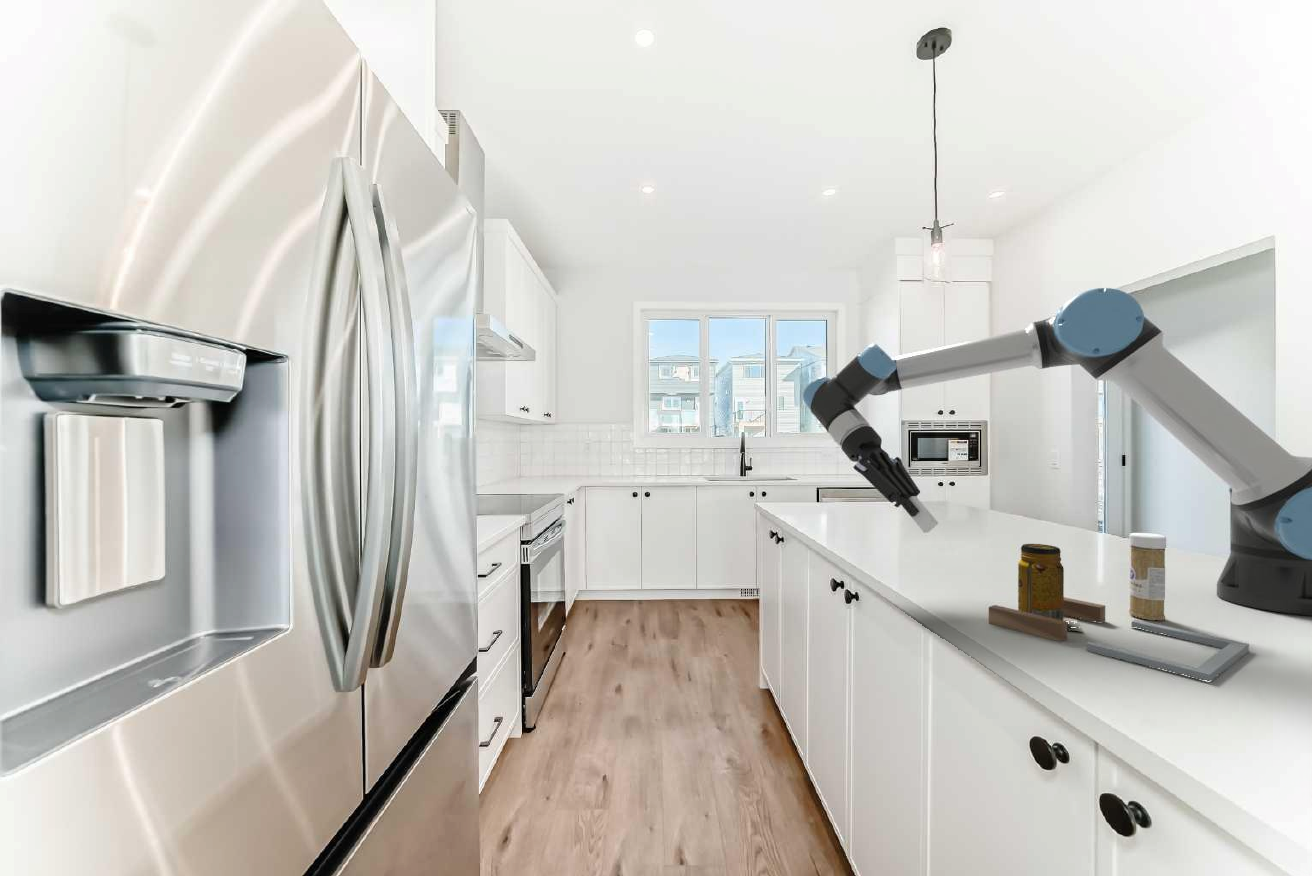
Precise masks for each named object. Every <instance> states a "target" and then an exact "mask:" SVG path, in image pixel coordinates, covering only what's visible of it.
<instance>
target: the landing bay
mask: <svg viewBox="0 0 1312 876" xmlns="http://www.w3.org/2000/svg"><path fill="white" fill-rule="evenodd" d="M1131 627H1137V628H1141V629H1144V630H1148V631H1152V632H1156V633H1163V634H1166V635H1170V636H1173V637H1172V638H1174V637H1176V638H1175V639H1178V638H1179V639H1180V640H1183V639H1187V640H1191V641H1190V642H1192V641H1195V642H1194V643H1196V642H1199V643H1198V644H1201V643H1202V644H1201V645H1206V646H1210V645H1212V646H1211V647H1215V648H1220V650H1219V651H1217V652H1216V653H1215V654H1213V655H1211V656H1210V657H1209V658H1207V660H1205V661H1204V662H1203V663H1201V664H1199V665H1198V666H1196V667H1195V666H1191V665H1188V664H1183V663H1180V662H1176V661H1170V660H1168V659H1165V658H1164V659H1163V658H1160V657H1156V656H1152V655H1148V654H1143V653H1140V652H1135V651H1132V650H1129V649H1124V648H1119V647H1117V646H1116V647H1115V646H1111V645H1107V644H1103V643H1099V642H1095V641H1091V640H1090V641H1089V642H1087V643H1086V652H1090V653H1094V654H1099V655H1102V656H1105V657H1109V656H1111V657H1110V658H1112V657H1115V658H1114V659H1116V658H1119V659H1118V660H1120V659H1123V660H1122V661H1124V660H1126V661H1125V662H1128V661H1130V662H1129V663H1132V662H1136V663H1139V664H1143V665H1147V666H1151V667H1154V668H1160V669H1164V670H1167V671H1171V672H1175V673H1177V674H1184V675H1187V676H1190V677H1194V678H1197V679H1201V680H1207V681H1210V680H1213V679H1214V678H1215V677H1216V676H1217V675H1219V674H1220V675H1221V674H1222V672H1223V671H1224V670H1225V671H1227V669H1229V668H1230V667H1231V666H1233V665H1234V664H1235V663H1236V662H1238V661H1239V660H1240V659H1242V657H1243V656H1245V655H1246V654H1248V653H1249V652H1250V644H1249V643H1246V642H1243V641H1237V640H1233V639H1227V638H1223V637H1218V636H1213V635H1209V634H1204V633H1200V632H1194V631H1190V630H1186V629H1180V628H1176V627H1170V626H1168V625H1161V624H1157V623H1152V622H1146V621H1145V620H1144V621H1143V620H1139V619H1134V620H1131ZM1131 627H1130V628H1131ZM1152 632H1151V633H1152ZM1156 633H1155V634H1156ZM1170 636H1169V637H1170ZM1187 640H1186V641H1187ZM1139 664H1138V665H1139ZM1143 665H1142V666H1143ZM1147 666H1146V667H1147ZM1151 667H1150V668H1151ZM1154 668H1153V669H1154ZM1225 671H1224V672H1225ZM1177 674H1176V675H1177ZM1220 675H1219V676H1220ZM1216 678H1217V677H1216ZM1216 678H1215V679H1216ZM1215 679H1214V680H1215ZM1214 680H1213V681H1214Z"/></svg>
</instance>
